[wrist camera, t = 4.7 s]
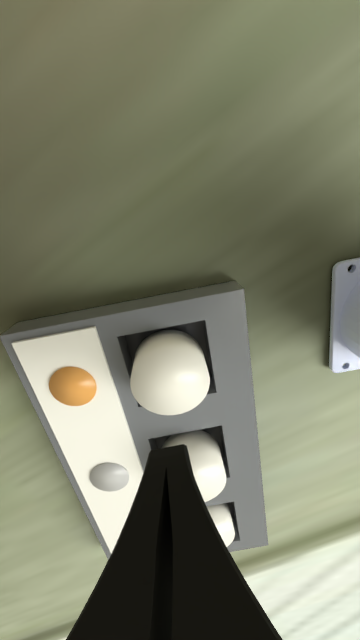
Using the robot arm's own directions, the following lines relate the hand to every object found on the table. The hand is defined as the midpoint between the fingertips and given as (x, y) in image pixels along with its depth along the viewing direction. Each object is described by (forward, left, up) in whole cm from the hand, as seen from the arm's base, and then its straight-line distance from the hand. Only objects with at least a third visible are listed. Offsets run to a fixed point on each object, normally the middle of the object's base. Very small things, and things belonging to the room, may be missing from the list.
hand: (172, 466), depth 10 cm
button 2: (0, +8, -8) cm, 11 cm away
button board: (+2, +8, -9) cm, 12 cm away
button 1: (0, 0, -8) cm, 8 cm away
